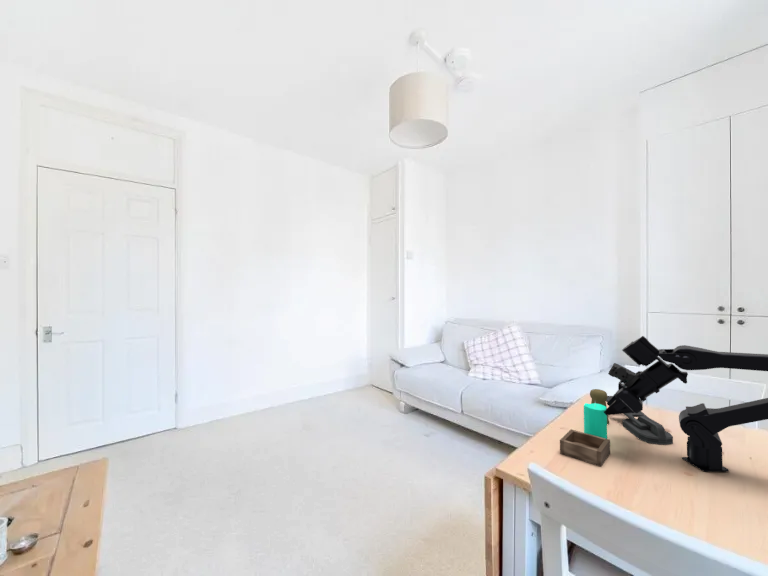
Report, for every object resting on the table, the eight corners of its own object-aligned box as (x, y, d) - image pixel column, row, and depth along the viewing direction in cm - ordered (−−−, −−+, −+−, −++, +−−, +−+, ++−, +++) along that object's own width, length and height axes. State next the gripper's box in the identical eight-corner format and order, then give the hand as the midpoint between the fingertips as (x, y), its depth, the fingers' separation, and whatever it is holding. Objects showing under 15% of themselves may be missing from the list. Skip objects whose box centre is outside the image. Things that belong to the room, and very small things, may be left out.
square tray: (610, 453, 94) (609, 439, 94) (601, 466, 87) (601, 452, 87) (571, 441, 101) (570, 429, 101) (560, 453, 94) (559, 440, 94)
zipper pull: (624, 395, 123) (678, 423, 98) (625, 413, 123) (679, 445, 98) (599, 395, 123) (646, 422, 99) (599, 413, 123) (646, 444, 99)
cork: (610, 421, 116) (610, 389, 116) (607, 426, 111) (607, 393, 111) (590, 416, 120) (590, 386, 120) (586, 421, 115) (586, 390, 115)
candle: (606, 438, 103) (606, 399, 103) (607, 446, 98) (607, 405, 98) (584, 434, 106) (583, 396, 106) (583, 441, 101) (583, 402, 101)
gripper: (629, 350, 104) (588, 380, 111) (626, 361, 89) (579, 394, 96) (662, 380, 99) (617, 408, 106) (665, 396, 84) (612, 428, 91)
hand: (606, 409), depth 100 cm, fingers open, 9 cm apart
